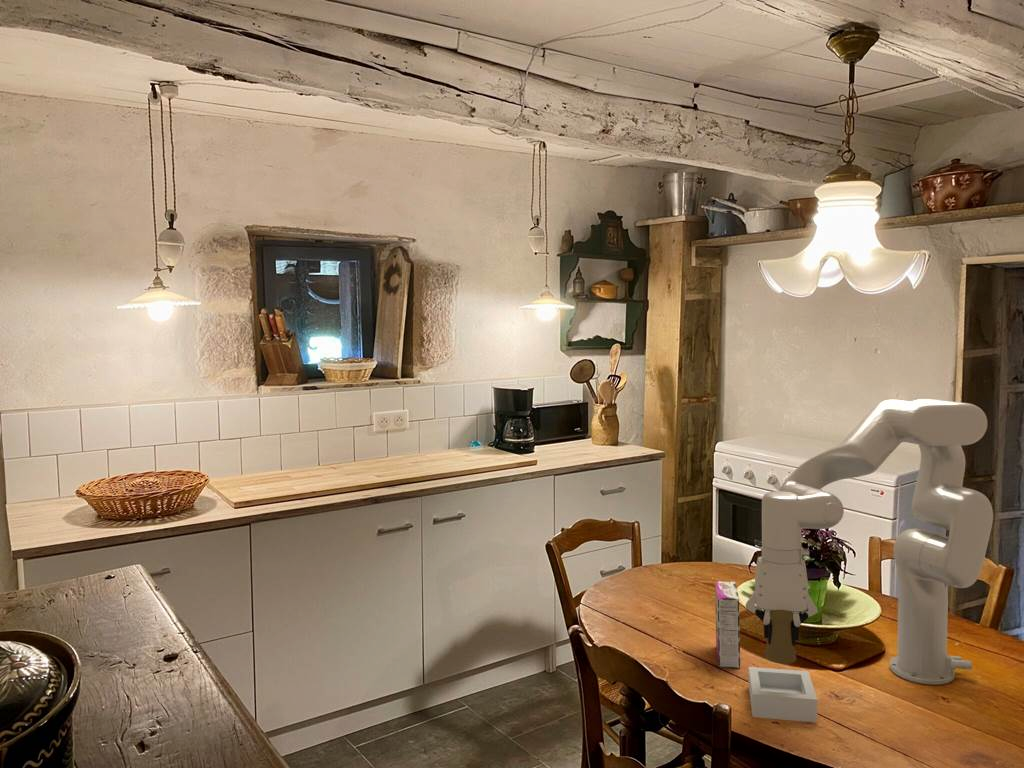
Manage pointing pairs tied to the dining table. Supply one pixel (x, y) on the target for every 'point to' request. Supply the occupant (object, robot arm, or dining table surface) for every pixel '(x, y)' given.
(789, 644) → the cork
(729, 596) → the candy bar box
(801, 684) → the open box
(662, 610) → the dining table surface
